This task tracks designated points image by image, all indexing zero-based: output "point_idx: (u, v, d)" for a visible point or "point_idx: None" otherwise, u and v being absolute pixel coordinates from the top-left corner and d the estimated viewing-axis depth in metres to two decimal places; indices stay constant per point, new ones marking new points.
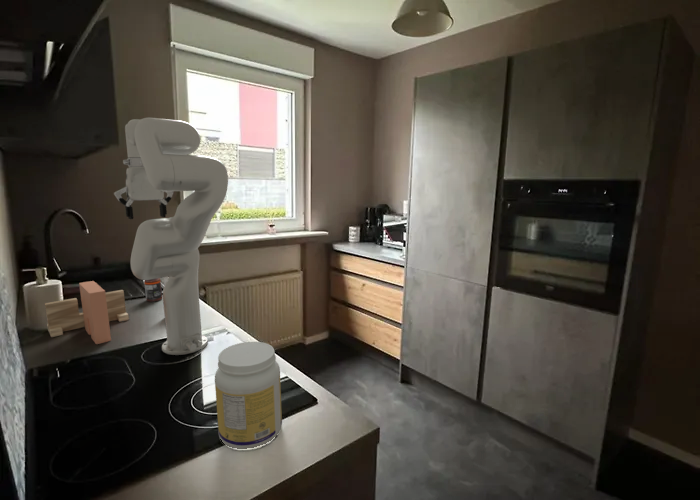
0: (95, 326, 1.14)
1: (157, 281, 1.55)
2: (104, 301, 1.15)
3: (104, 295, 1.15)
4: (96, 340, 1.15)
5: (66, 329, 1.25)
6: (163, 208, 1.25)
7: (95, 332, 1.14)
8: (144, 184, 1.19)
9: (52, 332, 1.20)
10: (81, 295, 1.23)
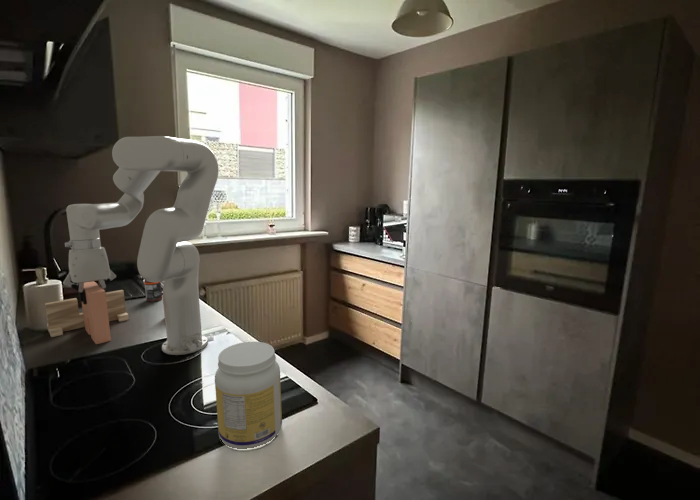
0: (95, 326, 1.14)
1: None
2: (104, 301, 1.15)
3: (104, 295, 1.15)
4: (96, 340, 1.15)
5: (66, 329, 1.25)
6: None
7: (95, 332, 1.14)
8: (88, 266, 1.15)
9: (52, 332, 1.20)
10: None
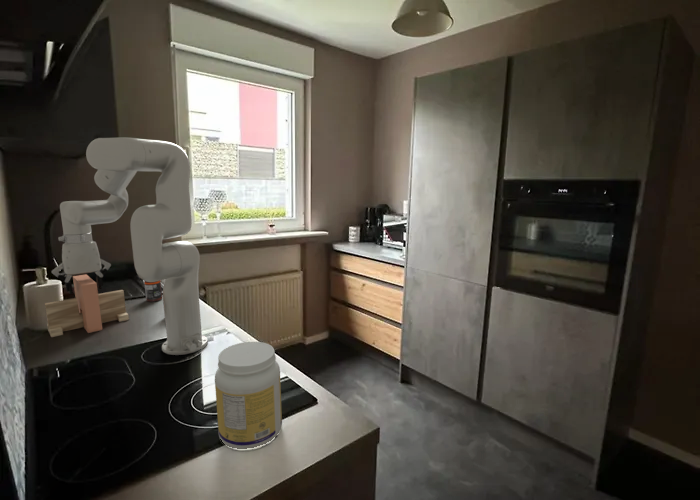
0: (87, 316, 1.23)
1: (157, 281, 1.55)
2: (96, 292, 1.24)
3: (96, 287, 1.23)
4: (88, 329, 1.23)
5: (66, 329, 1.25)
6: (98, 281, 1.29)
7: (87, 321, 1.23)
8: (80, 259, 1.24)
9: (52, 332, 1.20)
10: (74, 287, 1.31)
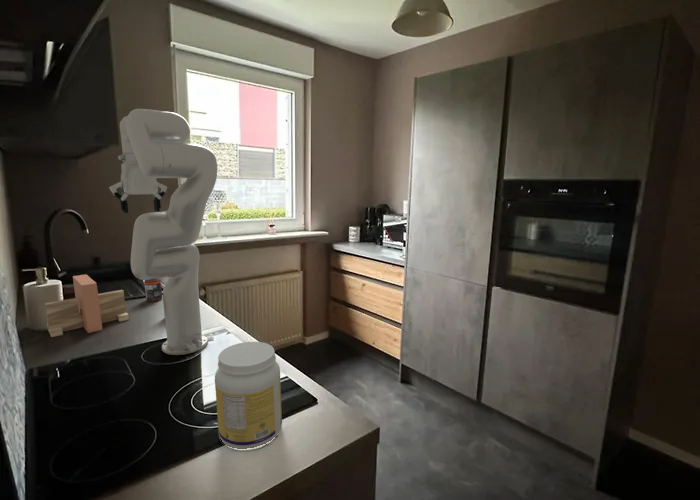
0: (87, 316, 1.23)
1: (157, 281, 1.55)
2: (96, 292, 1.24)
3: (96, 287, 1.23)
4: (88, 329, 1.23)
5: (66, 329, 1.25)
6: (157, 202, 1.30)
7: (87, 321, 1.23)
8: (138, 179, 1.24)
9: (52, 332, 1.20)
10: (74, 288, 1.31)
